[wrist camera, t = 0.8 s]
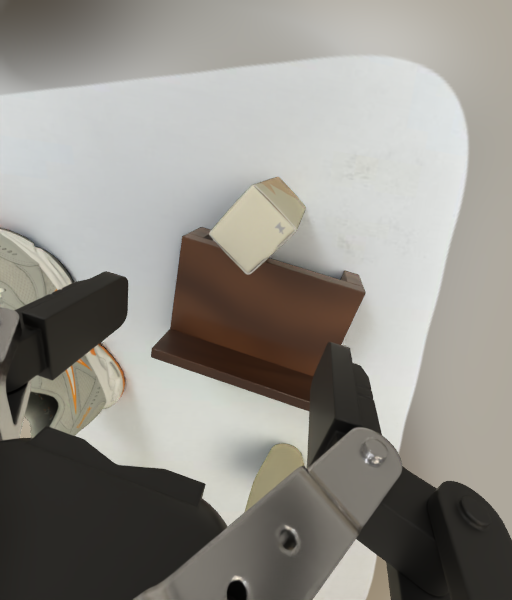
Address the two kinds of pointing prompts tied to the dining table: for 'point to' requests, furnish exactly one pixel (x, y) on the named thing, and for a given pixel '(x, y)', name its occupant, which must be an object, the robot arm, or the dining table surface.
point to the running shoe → (77, 378)
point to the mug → (274, 471)
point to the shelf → (255, 320)
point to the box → (258, 223)
